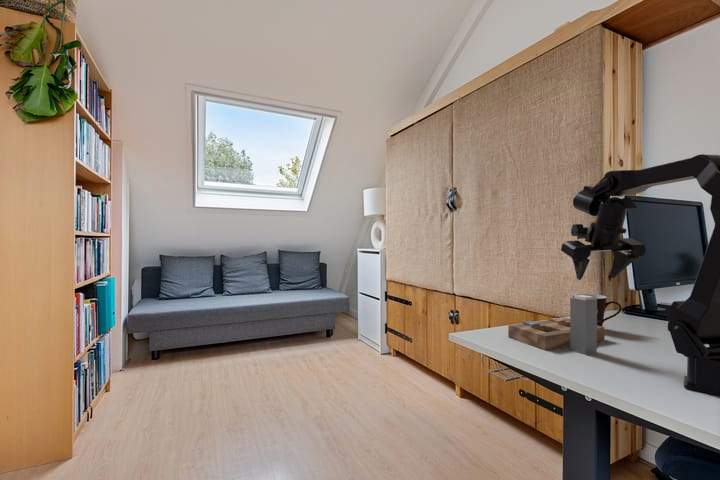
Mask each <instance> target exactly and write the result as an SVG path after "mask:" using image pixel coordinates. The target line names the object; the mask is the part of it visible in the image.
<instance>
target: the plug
mask: <svg viewBox="0 0 720 480" xmlns="http://www.w3.org/2000/svg"><path fill="white" fill-rule="evenodd" d="M569 303H570V305H569V308H570V310H569V314H570V315H569V319H570V346H569V350H570V351H573V352H574V353H575V352H576V353H579V354H582V355H585V356H587V355H590V354H591V355H592V354H595V353H598V352H597V350H598V345H597V344H598V341H597V299H593V297H592V296H586V295H576V296H574V298H573V297H570V300H569Z"/></svg>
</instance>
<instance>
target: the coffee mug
mask: <svg viewBox="0 0 720 480" xmlns="http://www.w3.org/2000/svg"><path fill="white" fill-rule="evenodd" d="M576 295H586V296H592V297H593V299H597V326H601V327H604V326H603V325H604V323H605V322H606V321H608V320H610V319H612V318H614V317H616V316H617V315H618V314H620V313H621V312H622V305H621V304H620V303H619V302H617V301H614V300H613V301H612V300H611V301H607V298H608V297H607V296H605V295H602V294H595V293H574V294H572V298H574V296H576ZM611 304H616V305H617V306H618V307H619V309H618V310H617V311H616V312H615V313H614V314H612V315H610V316H609V315H608V316H607V317H605V312H606V309H607V307H608V306H609V305H611ZM604 317H605V318H604Z"/></svg>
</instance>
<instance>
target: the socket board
mask: <svg viewBox="0 0 720 480" xmlns="http://www.w3.org/2000/svg"><path fill="white" fill-rule="evenodd" d="M507 327H508V328H507V330H508V335H507V336H508V337H507V338H509V339H512V340H515V341H517V340H518V341H517V342H521V343H523V344H526V345H528V346H531V347H534V348H535V347H536V348H538V349H540V350H543V351H547V350H554V349H560V348H565V347H570V318H568V317H561V318H559V317H551V318H548V319H544V320H543V319H542V320H537V321H535V320H534V321H533V320H525V321H522V322H520V323H514V324H513V323H512V324H508V326H507ZM602 341H605V326H602V327H601V326H597V342H602Z"/></svg>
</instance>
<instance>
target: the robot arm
mask: <svg viewBox="0 0 720 480" xmlns="http://www.w3.org/2000/svg"><path fill="white" fill-rule="evenodd" d="M695 179H696V181H697V183H698V185H699V186H700V188H701V189H702V190H703V191H705V192H706V193H707V194H709V195H710V196H711V199H710V206H709V210H710V213H711V216H712V219H713V222H714V226H713V230H712V233H711V236H710V238H709V242H708V244H707V247H706V250H705V253H704V255H703V258H702V261H701V264H700V266H699V270H698V273H697V276H696V278H695V282H694V284H693V286H692V289H691V292H690V295H689V296H688V298H686V299H685V300H680V301H679V300H676V301H673V302H672V303H671V305H670V310H669V313H668V315H667V316H666V317H665V321H668V322H667V331H668V332H669V333H670V337H671V339H672V341H673V342H672V343H673V345H674V349H675V351H676V353H677V354H680V355H683V356H684V357H686V363H687V364H686V375H684V379H683V380H684V381H683V388H685V389H688V390H692V391H696V392H702V393H706V394H711V395H717V396H720V154H704V153H703V154H702V153H701V154H697V155H695V156H693V157H690V158H684V159H681V160H674V161H672V162H669V163H668V162H667V163H663V164H660V165H655V166H651V167H647V168H642V169H625V170H624V169H621V170H618V169H617V170H609V171H607V172H606V173H605V174H604V176H603V177H602V178H601V179H600V180H599V181H598V182H597V183H596V184H595V185H594V186H592V185H584V186H583V188H582V190H580V191H579V192H577V194H575V196H574V197H573V199H572V206H573V208H574V209H576V210H577V211H579V212H582V213H585V214H587V215H590V216H592V217H596V219H595V221H594V222H591V223H590V225H589V226H584V225H583V224H582V223H577V224H572V226H571V229H570V235H571V236H572V237H576V239H577V240H565V241H563V242H562V244H561V249H560V251H561V252H563V253H564V254H565V255H567V256H568V257H570V258H571V260H572V263H573V266H574V270H575V275H576V276H575V277H576V279H578V280H579V281H581V280H582V278H583V277H584V275H585V273H586V270H587V268H588V266H589V263H590V260H591V259H589V258H590V257H591V254H592V253H601V252H602V253H603V252H605V253H606V252H613V256H614V257H613V260H612V264H611V269H610V275H609V276H610V278H611V279H615V278H616V277H617V276H619V274H620V273H622V271H624V270H625V269H626V268H627V267H628V266H630V265H631V264H632V263H633V262H635V261H636V260H639V259H640V257H644V256H646V252H647V247H646V245H645V244H644V243H642V242H640V241H638V240H636V239H634V238H632V237H628V238H627V237H625V238H624V237H623V238H622V237H621V235H622V234H626V233H627V228H624V224H625V220H626V218H627V217H626V216H627V213H628V210H634V209H637V208H638V206H637V205H636V203H635V202H634V201H633V200H632V198H631V197H623V196H635V195H638V194H640V193H643V192H645V191H647V190H648V189H650V188H653V187H656V186H661V185H668V184H673V183H678V182H680V183H681V182H684V181H685V182H686V181H690V180H695ZM621 197H623V198H621ZM581 239H582V240H583V239H584V242H586V243H590V244H585V243H583V242H582V241H580V240H581ZM705 345H708V346H705Z"/></svg>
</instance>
